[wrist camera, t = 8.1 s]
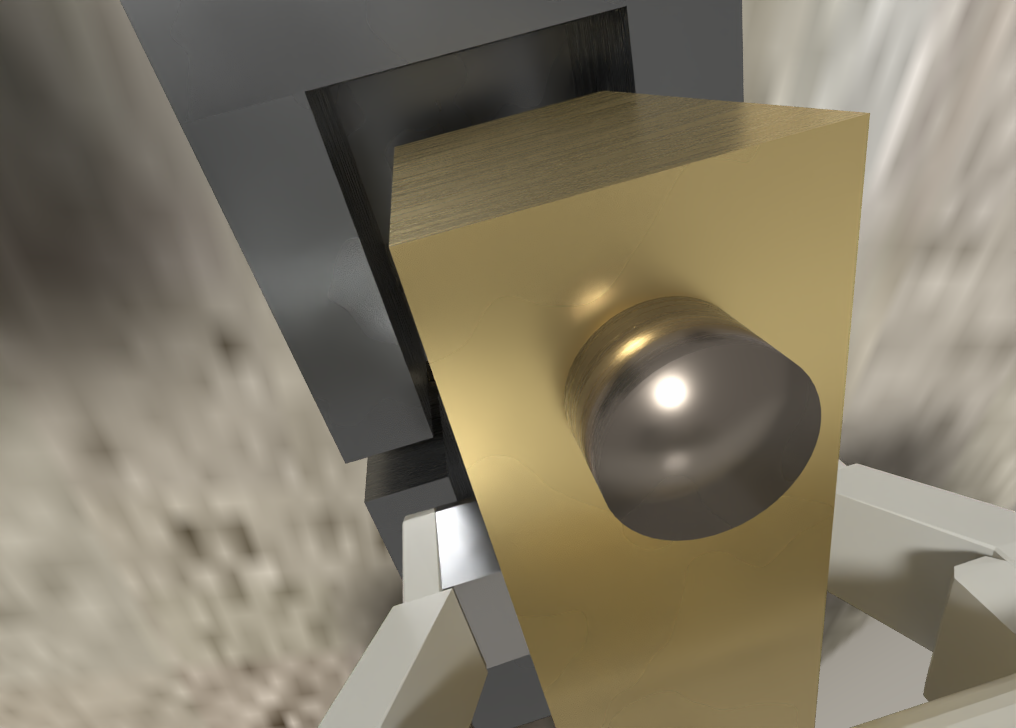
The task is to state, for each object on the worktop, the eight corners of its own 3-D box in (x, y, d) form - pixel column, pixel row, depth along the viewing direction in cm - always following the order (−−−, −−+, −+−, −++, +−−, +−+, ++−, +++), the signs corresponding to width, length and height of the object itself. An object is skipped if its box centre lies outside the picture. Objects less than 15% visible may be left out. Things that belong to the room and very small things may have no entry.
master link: (667, 595, 13) (838, 924, 8) (546, 633, 13) (641, 993, 8) (602, 90, 8) (993, 123, 3) (394, 147, 8) (386, 295, 3)
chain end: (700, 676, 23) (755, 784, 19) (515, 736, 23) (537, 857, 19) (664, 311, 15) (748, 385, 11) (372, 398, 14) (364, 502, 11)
